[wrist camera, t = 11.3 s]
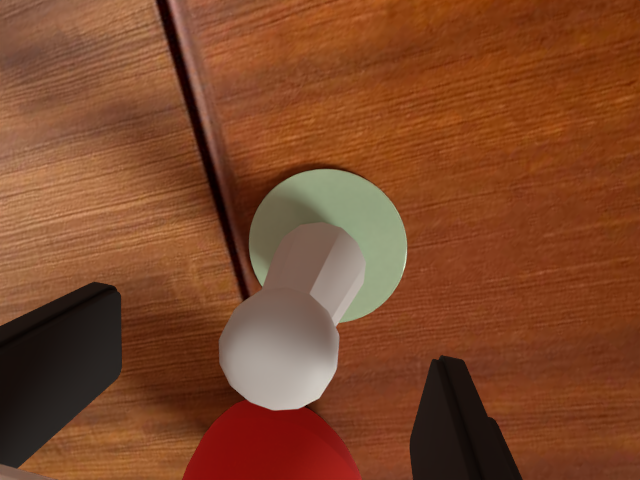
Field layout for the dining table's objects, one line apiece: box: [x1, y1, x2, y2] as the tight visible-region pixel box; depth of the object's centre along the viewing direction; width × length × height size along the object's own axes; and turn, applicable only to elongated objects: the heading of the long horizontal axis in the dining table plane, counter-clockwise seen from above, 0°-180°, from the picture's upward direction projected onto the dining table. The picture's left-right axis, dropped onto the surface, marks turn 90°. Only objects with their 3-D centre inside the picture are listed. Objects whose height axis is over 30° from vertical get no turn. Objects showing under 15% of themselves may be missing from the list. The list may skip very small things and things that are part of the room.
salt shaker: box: [219, 222, 366, 410], centre depth 18 cm, size 6×6×13 cm
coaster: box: [249, 169, 407, 323], centre depth 24 cm, size 11×11×1 cm
